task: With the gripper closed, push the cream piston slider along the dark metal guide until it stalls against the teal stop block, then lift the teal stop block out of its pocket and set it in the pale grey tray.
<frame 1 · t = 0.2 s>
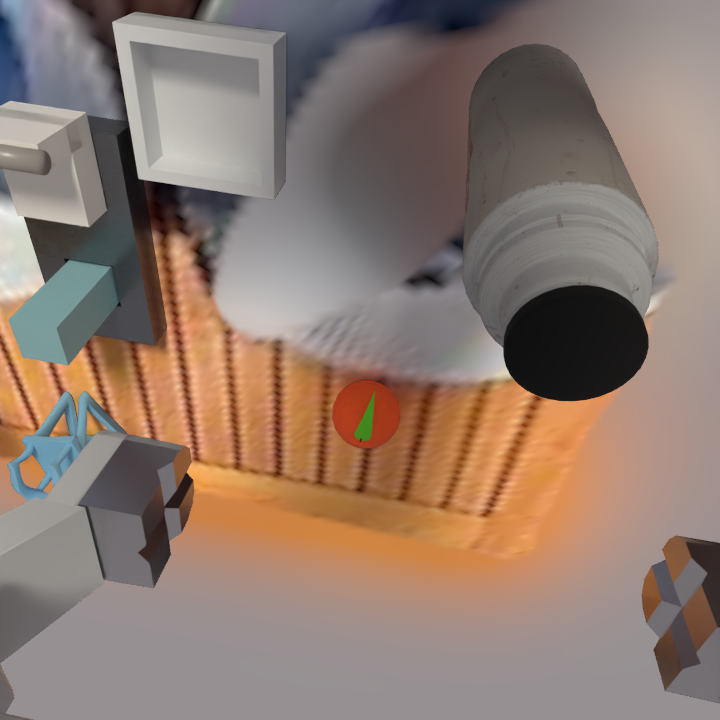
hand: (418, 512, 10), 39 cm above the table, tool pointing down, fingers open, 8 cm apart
clementine: (372, 386, 62), on the table
guide: (100, 229, 54), on the table
piston slider: (33, 178, 44), point 7 cm above the table, slide at 0.0 cm
tray: (215, 102, 45), on the table
chair: (91, 414, 73), on the table
stop block: (108, 266, 57), resting in guide
thermos bottle: (526, 104, 42), on the table
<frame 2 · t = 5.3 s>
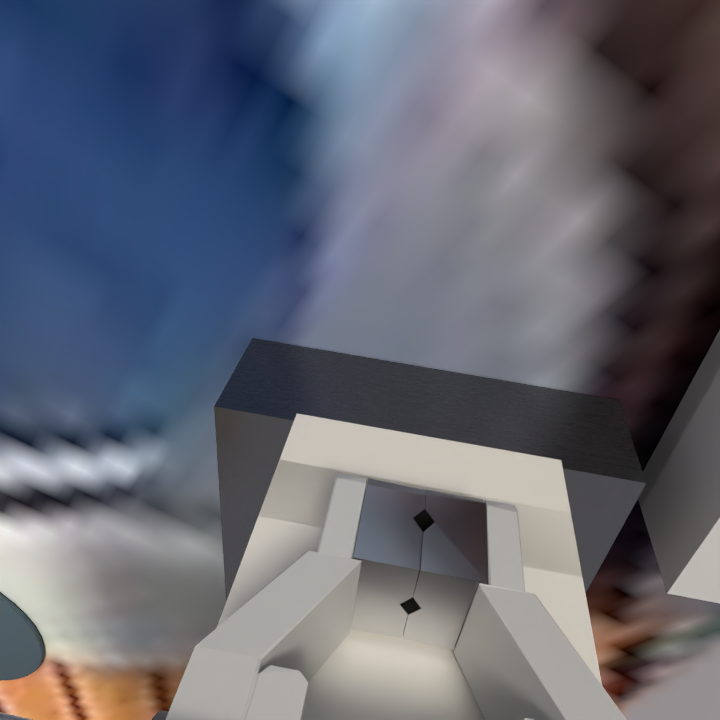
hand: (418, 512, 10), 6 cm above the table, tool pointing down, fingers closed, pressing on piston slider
guide: (384, 592, 22), on the table
piston slider: (385, 699, 12), point 7 cm above the table, slide at 1.2 cm, touching gripper
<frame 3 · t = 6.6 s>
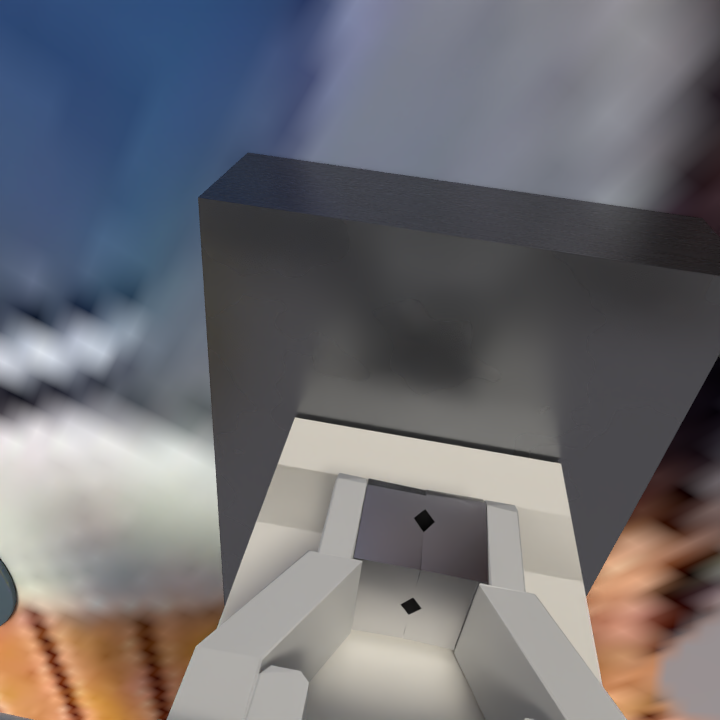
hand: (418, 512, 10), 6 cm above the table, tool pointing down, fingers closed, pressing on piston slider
guide: (402, 504, 19), on the table
piston slider: (384, 706, 12), point 7 cm above the table, slide at 6.3 cm, touching gripper, stop block
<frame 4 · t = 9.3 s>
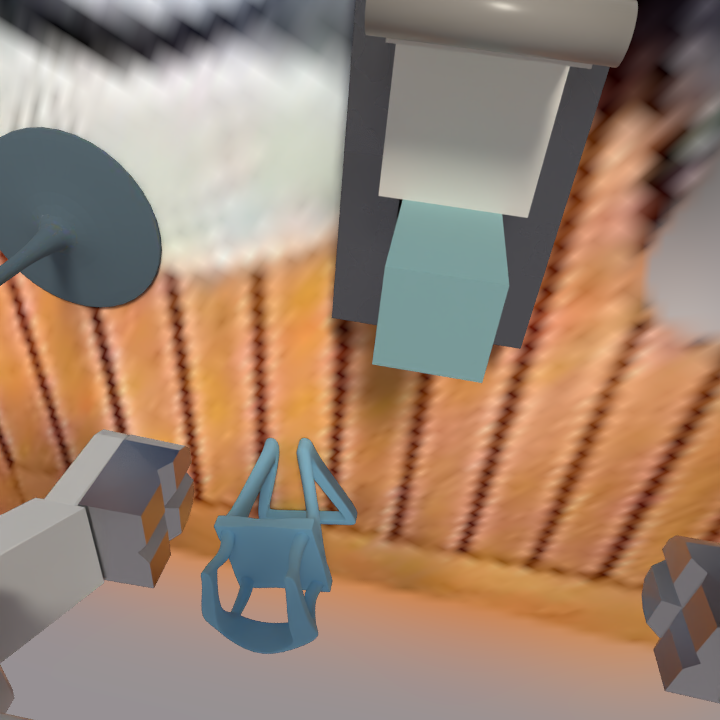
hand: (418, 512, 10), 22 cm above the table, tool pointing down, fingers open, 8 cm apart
guide: (465, 109, 27), on the table
piston slider: (472, 106, 20), point 7 cm above the table, slide at 6.3 cm, touching stop block
chair: (300, 475, 44), on the table
cocktail glass: (73, 222, 34), on the table
stop block: (448, 199, 30), resting in guide, touching piston slider
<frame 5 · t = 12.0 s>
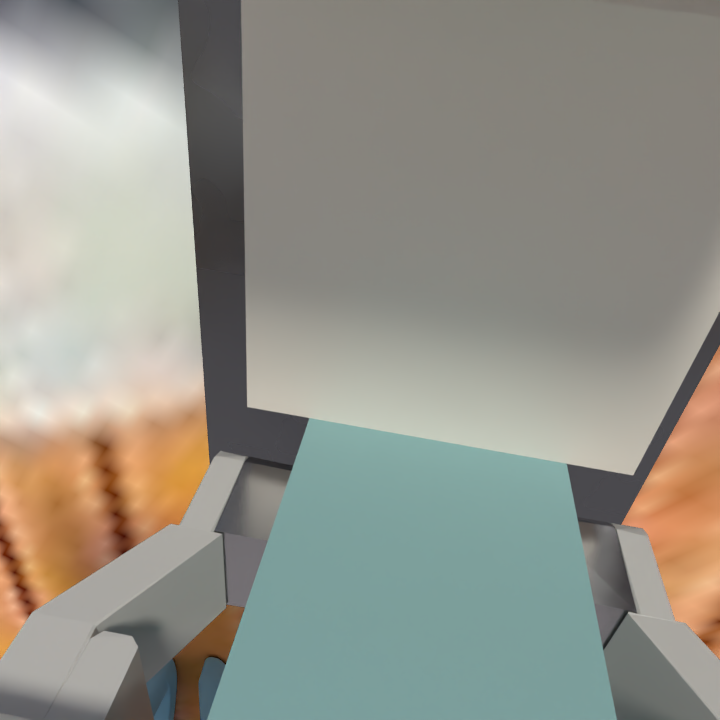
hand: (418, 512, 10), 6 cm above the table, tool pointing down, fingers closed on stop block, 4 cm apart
guide: (466, 173, 13), on the table
piston slider: (500, 214, 6), point 7 cm above the table, slide at 6.3 cm, touching stop block
chair: (213, 695, 29), on the table
stop block: (432, 338, 15), resting in guide, touching gripper, piston slider
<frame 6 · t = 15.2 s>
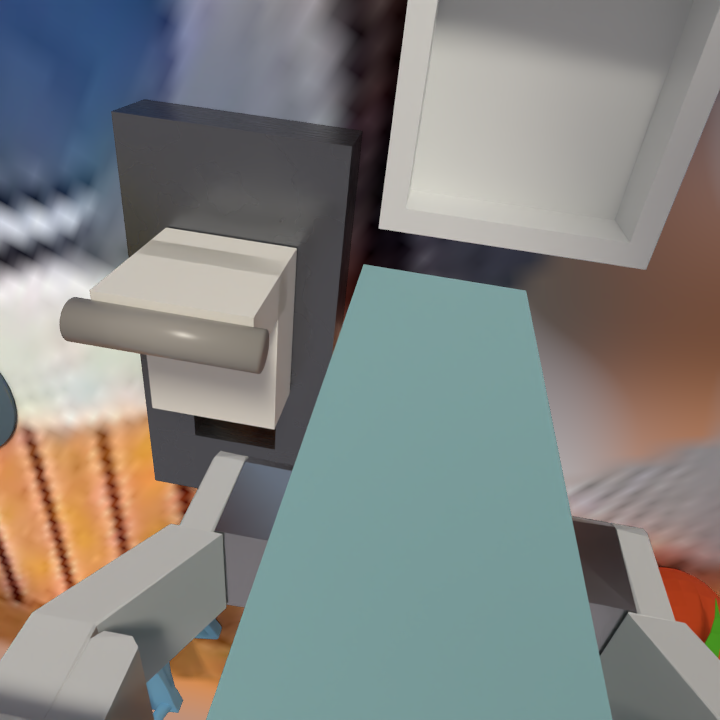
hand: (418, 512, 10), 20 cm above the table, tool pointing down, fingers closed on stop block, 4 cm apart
clementine: (655, 571, 38), on the table
guide: (251, 319, 32), on the table
piston slider: (202, 359, 25), point 7 cm above the table, slide at 6.1 cm
tray: (537, 91, 24), on the table
chair: (166, 594, 47), on the table
stop block: (429, 345, 15), point 14 cm above the table, touching gripper
when the fingers open (8 cm above the table, at t = 18.4 s): stop block drops 1 cm, resting on tray.
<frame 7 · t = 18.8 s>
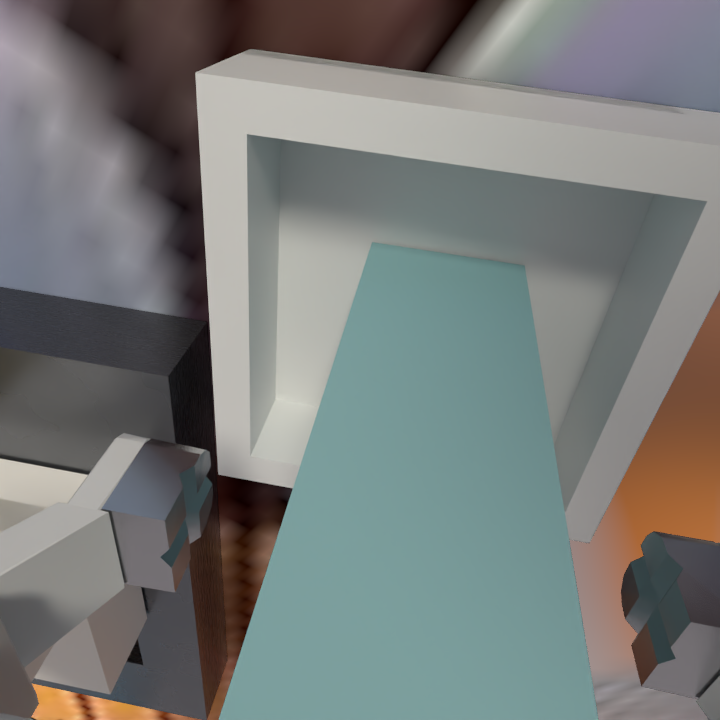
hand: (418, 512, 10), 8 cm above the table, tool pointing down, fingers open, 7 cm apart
guide: (106, 510, 25), on the table
tray: (437, 287, 17), on the table
stop block: (434, 318, 16), point 1 cm above the table, touching tray
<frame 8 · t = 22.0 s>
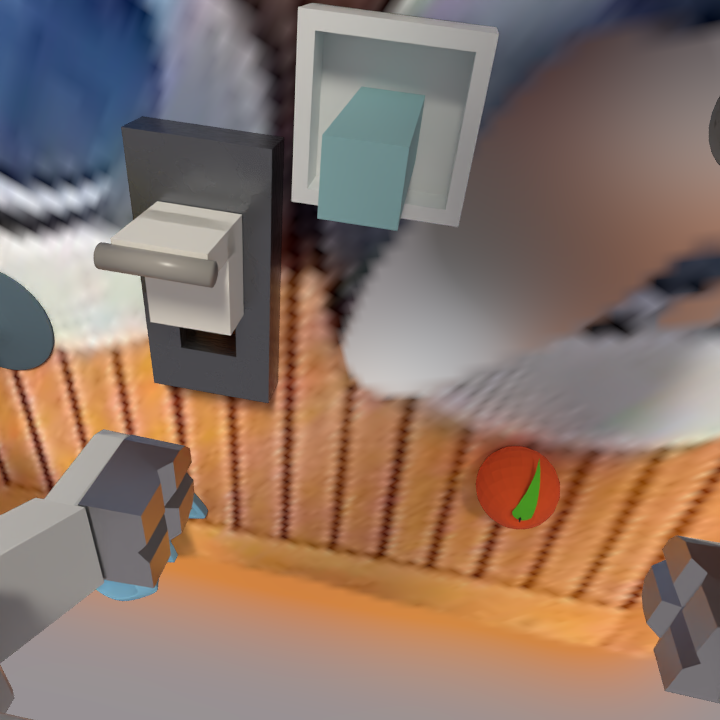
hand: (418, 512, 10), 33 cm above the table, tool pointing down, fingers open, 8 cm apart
clementine: (516, 452, 53), on the table
guide: (218, 265, 46), on the table
piston slider: (181, 285, 39), point 7 cm above the table, slide at 6.1 cm
tray: (391, 113, 38), on the table
chair: (165, 483, 62), on the table
stop block: (389, 124, 37), point 1 cm above the table, touching tray
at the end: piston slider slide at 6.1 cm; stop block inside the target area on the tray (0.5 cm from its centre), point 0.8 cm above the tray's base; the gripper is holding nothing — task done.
